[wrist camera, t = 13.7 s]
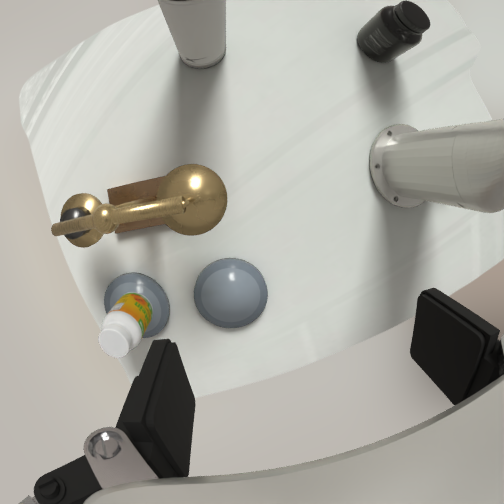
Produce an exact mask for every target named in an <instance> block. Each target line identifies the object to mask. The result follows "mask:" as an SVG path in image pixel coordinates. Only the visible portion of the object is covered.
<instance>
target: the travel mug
mask: <svg viewBox="0 0 504 504" xmlns="http://www.w3.org/2000/svg"><path fill="white" fill-rule="evenodd" d="M158 2H159V5H160V7H161V10H162V12H163V15H164V17H165V20H166V22H167V25H168V27H169V30H170V32H171V35H172V37H173V40H174V42H175V45H176V47H177V49H178V52H179V54H180V57H181V59H182V61H183V62H184V63H185V64H187V65H188V66H190V67H193V68H208V67H211V66H213V65H215V64H217V63H218V62H219V61H220V60H221V59H222V58H223V57H224V55H225V52H226V0H158Z"/></svg>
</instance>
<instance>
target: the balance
mask: <svg viewBox="0 0 504 504" xmlns="http://www.w3.org/2000/svg"><path fill="white" fill-rule="evenodd" d="M107 191H108V197H109V203H110V204H102V203H101V202H100V201H99V200H98V199H97V198H96V197H95V196H93V195H91V194H87V193H81V194H76V195H74V196H72V197H70V198H69V199H68V200H67V201H66V203H65V204H64V206H63V209H62V212H61V219H60V222H59V223H55V224H53V225H52V228H51V229H52V230H51V231H52V234H53V235H54V236H60V235H64V236H65V237H66V238H67V239H68V240H69V241H70V242H71V243H72V244H73V245H75V246H78V247H89V246H91V245H93V244H95V243H97V242H98V241H99V240H100V239H101V238H102V236H103V234H109V233H112V232H113V231H115V233H120V232H125V231H130V230H136V229H141V228H146V227H151V226H157V225H162V224H166V225H167V226H168V227H169V228H171V229H172V230H174V231H175V232H178V233H180V234H183V235H199V234H203V233H206V232H208V231H210V230H211V229H212V228H214V227H215V226H216V225H217V224H218V223H219V222H220V220H221V219H222V217H223V215H224V213H225V210H226V206H227V192H226V188H225V185H224V183H223V181H222V180H221V178H220V177H219V176H218V175H217V174H216V173H215V172H214V171H212V170H211V169H209V168H207V167H205V166H202V165H197V164H188V165H183V166H180V167H177V168H175V169H174V170H172V171H171V172H170V173H168V174H167V175H166V176H163V177H158V178H154V179H149V180H145V181H140V182H136V183H131V184H127V185H123V186H119V187H115V188H111V189H107Z"/></svg>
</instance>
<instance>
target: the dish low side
mask: <svg viewBox="0 0 504 504" xmlns="http://www.w3.org/2000/svg"><path fill="white" fill-rule="evenodd" d="M128 292H138V293H140V294H142V295H144V296H145V297H146V298H147V299H148V300H149V301H150V303H151V304H152V307H153V316H152V319H151V321H150V323H149V325H148V327H147V329H146V331H145V333H144V335H143V337H142V338H148V337H152V336H154V335H156V334H158V333H159V332H160V331H161V330H162V329H163V328H164V326H165V325H166V322H167V320H168V317H169V312H170V305H169V301H168V298H167V295H166V293H165V292H164V290H163V289H162V287H161V286H160V285H159V284H158V283H157V282H156V281H154V280H153V279H152V278H150V277H148V276H146V275H143V274H140V273H126V274H123V275H120V276H119V277H117V278H116V279H115V280H114V281H113V282H112V283H111V284H110V285H109V286H108V288H107V290H106V292H105V297H104V305H105V310H106V313H107V314H108V312H109V311H110V310H111V309H112V307H113V306H114V305H115V304H116V303H117V301H118V300H119V299H120V298H121V297H122V296H123V295H124V294H126V293H128Z"/></svg>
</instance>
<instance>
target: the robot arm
mask: <svg viewBox="0 0 504 504" xmlns="http://www.w3.org/2000/svg"><path fill="white" fill-rule="evenodd" d="M387 134H388V135H387ZM375 166H376V168H375ZM370 170H371V175H372V178H373V181H374V183H375V186H376V187H377V189H378V191H379V192H380V194H381V195H382V196H383V197H384V198H385V199H386V200H387V201H389V202H390V203H392V204H394V205H396V206H399V207H405V208H411V207H415V206H418V205H420V204H421V203H423V202H424V201H430V202H435V203H440V204H446V205H451V206H455V207H460V208H465V209H470V210H474V211H479V212H484V213H495V212H498V211H501V210H503V209H504V119H499V120H493V121H486V122H478V123H470V124H462V125H455V126H448V127H441V128H435V129H428V130H422V131H418V130H417V129H415V128H413V127H411V126H409V125H404V124H398V125H393V126H389V127H387V128H385V129H384V130H383V131H381V132H380V133H379V135H378V136H377V137H376V139H375V141H374V143H373V145H372V149H371V152H370ZM499 332H500V330H499V329H497V328H496V327H494V326H493V325H491V324H490V323H488V322H487V321H485V320H484V319H482V318H481V317H480V316H478V315H477V314H475V313H473V312H472V311H470V310H469V309H467V308H466V307H464V306H463V305H461V304H460V303H458V302H457V301H455V300H453V299H452V298H450V297H449V296H447V295H446V294H444V293H442V292H441V291H439V290H438V289H436V288H431V289H428V290H424V291H422V292H421V294H420V296H419V297H418V300H417V309H416V318H415V324H414V331H413V337H412V343H411V348H410V354H411V357H412V359H414V361H415V362H416V363H417V364H418V365H419V366H420V367H421V368H422V370H423V371H424V372H425V373H426V374H427V375H428V376H429V377H430V378H431V379H432V381H433V382H434V383H435V384H436V385H437V386H438V387H439V388H440V390H441V391H442V392H443V393H444V394H445V395H446V396H447V398H448V399H449V400H450V401H451V402H452V403H453V404H454V405H455V406H453V407H452V408H450V409H448V410H446V411H444V412H442V413H440V414H438V415H437V416H435V417H433V418H431V419H429V420H427V421H424V422H422V423H420V424H418V425H416V426H414V427H412V428H409V429H407V430H405V431H403V432H400V433H398V434H395V435H393V436H390V437H388V438H385V439H383V440H380V441H378V442H375V443H372V444H369V445H366V446H363V447H360V448H357V449H354V450H351V451H348V452H344V453H341V454H338V455H334V456H331V457H327V458H323V459H319V460H315V461H311V462H306V463H302V464H297V465H293V466H287V467H281V468H276V469H269V470H263V471H256V472H248V473H239V474H230V475H218V476H198V477H188V475H189V465H190V454H191V443H192V432H193V422H194V413H195V398H194V394H193V392H192V389H191V386H190V383H189V381H188V378H187V375H186V372H185V369H184V366H183V363H182V360H181V357H180V354H179V351H178V347H177V345H176V343H175V342H173V343H171V341H170V339H162V340H154V341H153V342H152V345H151V347H150V349H149V352H148V354H147V357H146V359H145V362H144V364H143V367H142V369H141V372H140V374H139V376H137V377H135V379H134V381H133V383H132V386H131V388H130V391H129V393H128V396H127V398H126V401H125V403H124V406H123V409H122V412H121V414H120V417H119V420H118V422H117V425H116V427H115V428H113V427H106V428H101V429H98V430H96V431H94V432H93V433H91V434H90V435H89V436H88V437H87V439H86V441H85V443H84V453H85V455H84V456H82V457H80V458H78V459H76V460H74V461H72V462H70V463H68V464H66V465H64V466H62V467H60V468H58V469H55V470H53V471H51V472H49V473H47V474H45V475H43V476H42V477H40V478H39V479H38V480H37V482H36V484H35V486H34V495H35V496H34V497H33V498H32V497H30V496H28V497H26V498H25V499H24V500H23V501H22V502H20V503H19V504H504V334H503V335H502V337H501V340H500V341H499V340H498V335H499Z"/></svg>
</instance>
